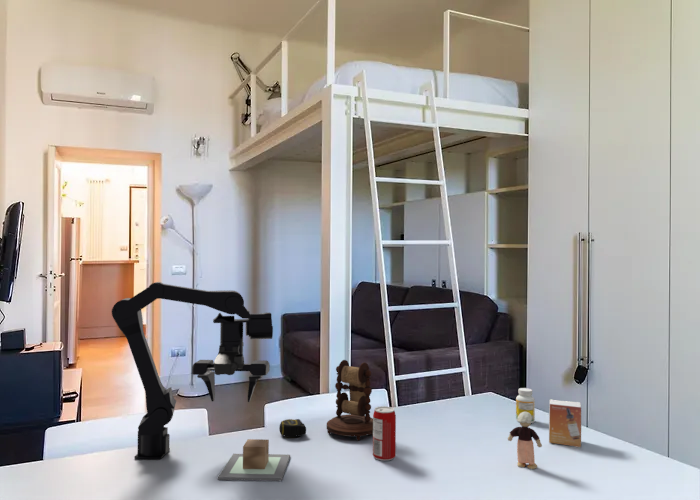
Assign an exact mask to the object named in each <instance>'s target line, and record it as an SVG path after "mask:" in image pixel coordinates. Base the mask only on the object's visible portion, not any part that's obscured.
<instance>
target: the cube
mask: <svg viewBox="0 0 700 500" xmlns="http://www.w3.org/2000/svg"><path fill="white" fill-rule="evenodd" d="M269 447H270V443H269V439H262V438H261V439H257V438H256V439H253V438H252V439H251V438H250V439H247V440H246V441H245V443H244V444H243V446H242V454H243V469H265V467H266V465H267V463H268V461H269V454H270V451H269Z"/></svg>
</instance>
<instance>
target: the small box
mask: <svg viewBox="0 0 700 500" xmlns="http://www.w3.org/2000/svg"><path fill="white" fill-rule="evenodd" d="M548 408H549V410H548V412H549V413H548V442H549V444H558V445H565V446H571V447H577V448H581V447H582V402H580V401H569V400H568V401H566V400H555V399H549V407H548Z"/></svg>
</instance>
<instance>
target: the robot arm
mask: <svg viewBox="0 0 700 500" xmlns="http://www.w3.org/2000/svg"><path fill="white" fill-rule="evenodd" d="M157 299H159V300H161V299H162V300H165V301H166V300H167V301H173V302H180V303H187V304H193V305H199V306H200V305H201V306H205V307H208V308H210V309H214V310H216V311H219V312H218V314H217V316H216V317H215V318H213V319H212V321H213V322H212V323H213V324H220V325H219V326H220V329H219V331H220V334H219V335H220V338H219V348H218V354H217V356H216V357H215V358H214V359H199V360H198V361H196V362H194V363H193V364H192V366H191V375H194V376H195V375H197V376H196V377H197V378H198V379H201V380H202V382H204V385H205V387H206V389H207V392H208V395H209V397H210V401H211V402H215V399H216V397H215V396H216V384H215V383H216V382H215V381H216V377H215V376H221V375H227V376H233V375H235V373H236V372H250V373H251V374H250V375H249V377H248V381H249V382H248V390H247V402H248V403H250V402H251V399H252V396H253V394H254V391H255V387H256V385H257V383H258V381H259V379H260V380H261V379H262V378H263V377H264V376H266V375H267V374H268V373H270V362H269V360H261V359H260V360H259V359H258V360H257V359H256V360H255V359H254V360H253V361H252V362H251V363H245V357H244V344H245V343H244V323H245V336H248V337H249V340H271V339H273V334H274V326H273V320H272V313H271V312H263V313H262V312H261V313H251V312H250V309H247V307H246V306H245V300H244V297H243V295H241V293H240V292H239V291H237V290H231V289H230V290H205V289H197V288H194V287H193V288H192V287H185V286H180V285H179V286H178V285H173V284H167V283H163V282H161V281H156V282H152V283H151V284H150V285H149V286H148V287H146V288H145V289H143V290H142V291H140V292H138V293H137V294H136V295H134V296H133V297H131V298H130V297H126V298H123V299H120V300H118V301H116V302H115V303H114V305H113V307H112V308H111V317H112V319H113V321H114V322H115V323H116V326H117V327H118V328H119V330H120V331H121V332H122V335H124V337H125V338H126V341H127V343H128V346H129V349H130V352H131V355H132V358H133V360H134V361H133V362H134V364H135V365H136V369H137V372H138V374H139V377H140V380H141V383H142V386H143V389H144V394H145V406H146V413H145V414H144V415H143V417H142V418H141V420H140V423H139V425H138V427H137V430H138V431H137V454H135V456H134V457H133V458H134V460H136V459H138V460H143V459H144V460H161V459H162V458H163V457H165V455H167V453H169V452H170V451H171V449H170V448H171V447H170V436H171V435H170V434H169V432H168V427H166V425H168V424H169V423H170V422H171V421H172V419H173V416H174V414H175V409H176V404H177V400H176V398H175V397H174V395H173V389H172V386H171V387H167V388H165V386H164V385H163V383H162V381H161V377H160V375H159V373H158V369H157V367H156V365H155V361H154V359H153V355H152V352H151V349H150V346H149V344H148V341H147V338H146V335H145V332H144V322H143V319H144V318H143V312H142V309H144V308H146V307H147V306H149V305H150V304H151V303H153V302H154V301H156V300H157ZM222 313H224V314H228V315H223V314H222ZM235 315H237V316H238V317H240V318H235ZM241 318H242V319H241Z"/></svg>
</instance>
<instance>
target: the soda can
mask: <svg viewBox="0 0 700 500" xmlns="http://www.w3.org/2000/svg"><path fill="white" fill-rule="evenodd" d="M372 418H373V434H372V456H373V458H375V459H376V460H377V461H381V462H384V461H385V462H388V461H391V460H393V459H394V458H395V457H396V454H397V453H396V452H397V451H396V447H397V446H396V445H397V442H396V441H397V440H396V439H397V437H396V436H397V435H396V433H397V432H396V431H397V429H396V428H397V427H396V426H397V425H396V424H397V416H396V411H395V408H394V407H392V406H377V407H374V411H373V413H372Z"/></svg>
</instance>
